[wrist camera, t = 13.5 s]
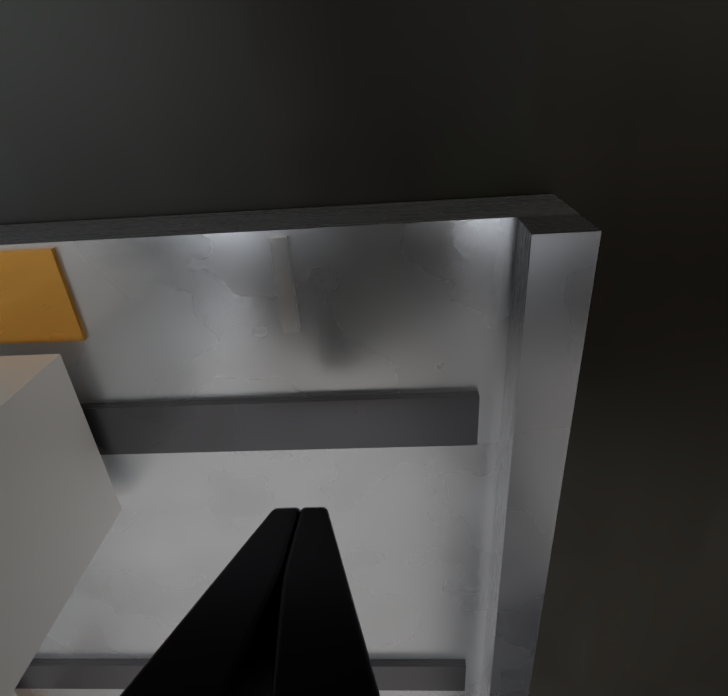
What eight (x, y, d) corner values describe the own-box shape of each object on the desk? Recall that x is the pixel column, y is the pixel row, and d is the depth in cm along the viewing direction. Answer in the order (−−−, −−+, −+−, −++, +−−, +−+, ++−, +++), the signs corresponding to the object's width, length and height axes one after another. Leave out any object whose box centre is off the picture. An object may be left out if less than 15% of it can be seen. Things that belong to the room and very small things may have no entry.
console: (553, 193, 10) (601, 231, 8) (499, 693, 18) (514, 781, 16) (-400, 247, 11) (-594, 292, 9) (-47, 690, 19) (-103, 771, 17)
